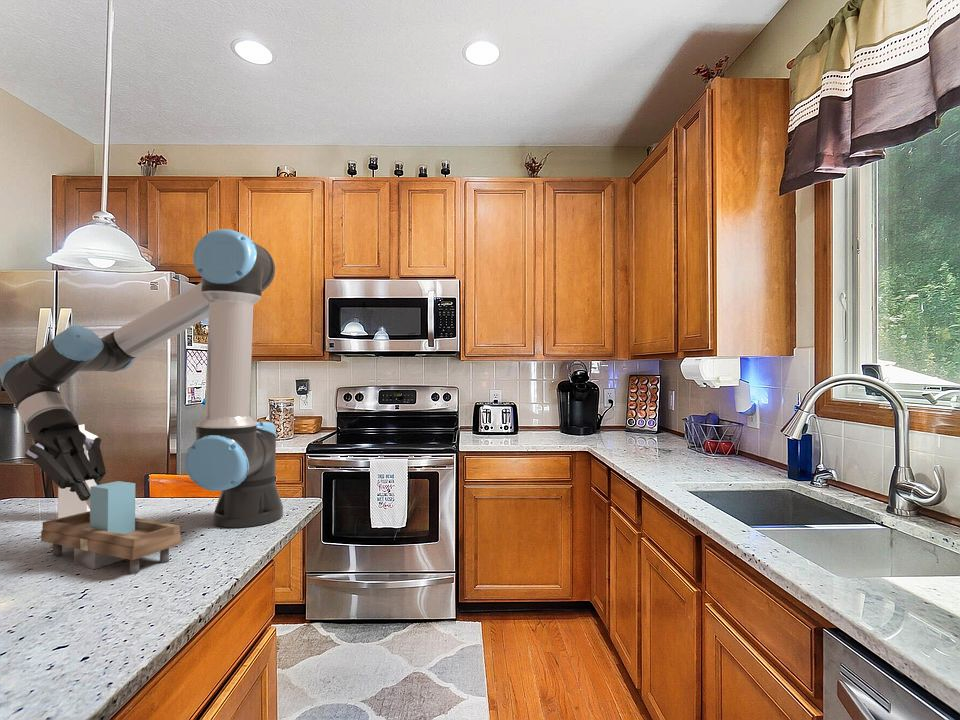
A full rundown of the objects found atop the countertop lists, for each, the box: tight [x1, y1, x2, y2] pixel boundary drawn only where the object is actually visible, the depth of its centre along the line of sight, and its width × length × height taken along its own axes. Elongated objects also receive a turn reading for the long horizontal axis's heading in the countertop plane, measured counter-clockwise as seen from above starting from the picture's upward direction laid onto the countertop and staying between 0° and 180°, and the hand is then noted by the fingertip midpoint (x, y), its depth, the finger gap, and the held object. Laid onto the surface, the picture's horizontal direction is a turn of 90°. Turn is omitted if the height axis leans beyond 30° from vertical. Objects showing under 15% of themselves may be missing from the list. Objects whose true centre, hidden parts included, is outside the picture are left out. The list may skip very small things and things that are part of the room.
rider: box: [90, 480, 136, 534], centre depth 98 cm, size 5×5×9 cm
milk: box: [57, 423, 99, 519], centre depth 128 cm, size 6×6×22 cm
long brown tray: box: [40, 511, 182, 575], centre depth 99 cm, size 26×9×7 cm, turn 67°
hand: (101, 510), depth 100 cm, fingers closed
